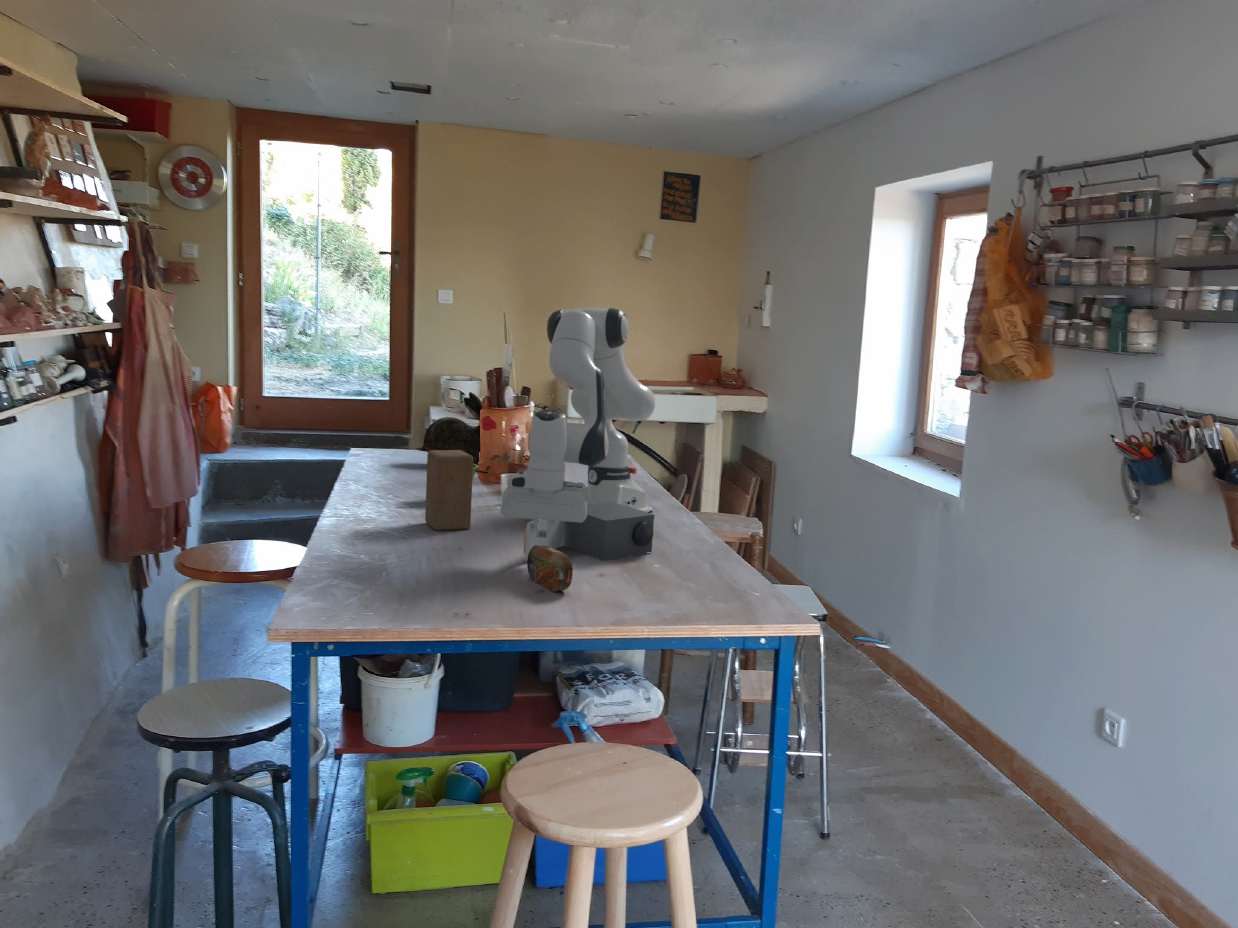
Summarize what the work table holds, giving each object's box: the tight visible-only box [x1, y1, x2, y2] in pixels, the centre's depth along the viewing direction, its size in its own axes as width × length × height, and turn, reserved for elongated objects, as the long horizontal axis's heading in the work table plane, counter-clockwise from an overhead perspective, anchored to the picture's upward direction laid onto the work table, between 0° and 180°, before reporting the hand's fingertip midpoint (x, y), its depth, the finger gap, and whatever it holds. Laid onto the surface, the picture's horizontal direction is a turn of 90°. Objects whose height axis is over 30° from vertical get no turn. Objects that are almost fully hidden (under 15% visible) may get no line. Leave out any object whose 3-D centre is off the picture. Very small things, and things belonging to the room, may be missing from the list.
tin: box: [526, 545, 574, 593], centre depth 207 cm, size 15×3×8 cm, turn 36°
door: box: [523, 519, 565, 562], centre depth 232 cm, size 2×18×9 cm, turn 157°
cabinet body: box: [562, 502, 655, 561], centre depth 240 cm, size 16×17×10 cm
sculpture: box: [416, 391, 484, 466], centre depth 337 cm, size 19×29×27 cm, turn 57°
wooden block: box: [424, 450, 473, 532], centre depth 252 cm, size 10×10×20 cm
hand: (542, 537), depth 224 cm, fingers closed
